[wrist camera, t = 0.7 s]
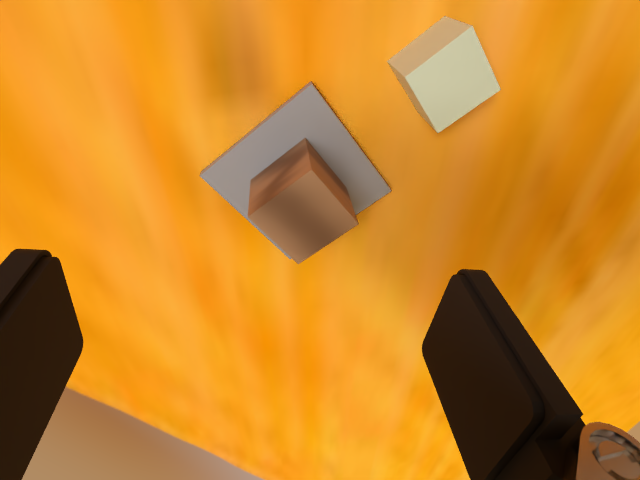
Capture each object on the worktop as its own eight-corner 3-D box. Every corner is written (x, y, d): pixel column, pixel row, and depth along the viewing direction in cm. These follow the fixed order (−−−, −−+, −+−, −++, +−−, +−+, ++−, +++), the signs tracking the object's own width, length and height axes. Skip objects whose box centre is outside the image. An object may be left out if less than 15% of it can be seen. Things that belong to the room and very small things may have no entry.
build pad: (310, 81, 31) (311, 83, 30) (389, 186, 37) (391, 190, 36) (201, 171, 34) (199, 175, 33) (289, 254, 40) (290, 259, 40)
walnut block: (305, 137, 32) (311, 169, 28) (346, 187, 36) (358, 224, 31) (250, 179, 34) (247, 217, 29) (294, 223, 37) (298, 264, 32)
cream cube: (444, 15, 29) (472, 25, 25) (471, 72, 32) (500, 89, 28) (386, 61, 31) (404, 77, 27) (417, 111, 33) (437, 133, 29)
